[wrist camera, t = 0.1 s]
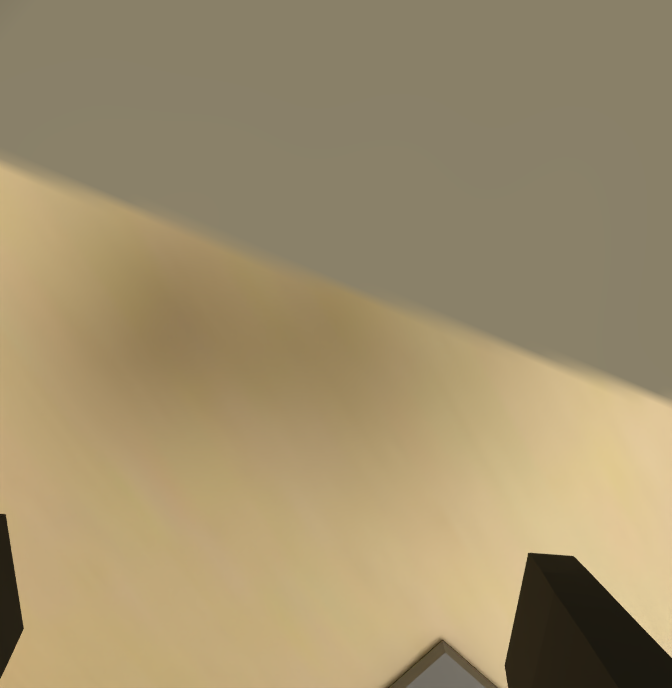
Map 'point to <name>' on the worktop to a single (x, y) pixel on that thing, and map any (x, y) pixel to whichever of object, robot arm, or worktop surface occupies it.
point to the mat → (442, 672)
